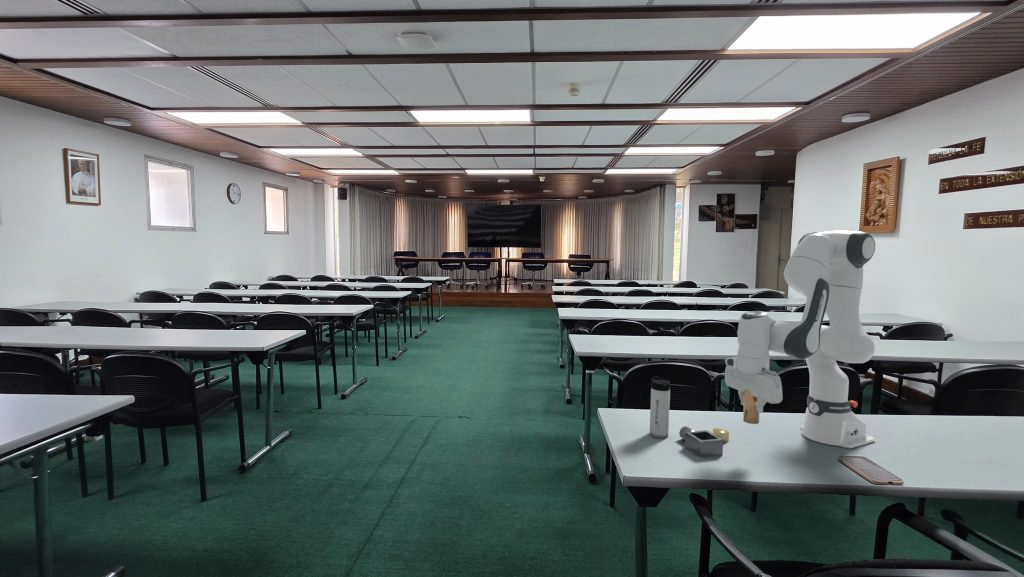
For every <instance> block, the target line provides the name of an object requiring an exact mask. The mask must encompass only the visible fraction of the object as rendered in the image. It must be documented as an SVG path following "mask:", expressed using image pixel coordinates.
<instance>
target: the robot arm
mask: <svg viewBox="0 0 1024 577" xmlns="http://www.w3.org/2000/svg"><path fill="white" fill-rule="evenodd" d="M875 252H876V241H875V238H874V237H873V236H872V234H871V233H868V232H865V231H860V230H855V231H850V230H833V231H829V230H828V231H821V232H820V231H819V232H818V231H812V232H808V233H806V234H804V235H803V236H802V237H801V238H800V239H799V240H798V242H797V246H796V247H795V248H794V250H793V251H792V253H791V255H790V257H789V259H788V261H787V263H786V265H785V268H784V271H783V278H784V280H785V283H786V284H787V286H789V287H790V288H791V289H793V290H794V291H796V292H797V293H799V294H801V295H803V296H804V297H806V300H805V301H806V302H805V305H804V306H805V307H804V309H803V313H802V317H801V320H799V322H796V323H791V322H785V321H780V320H776V319H774V318H771V317H769V314H768V313H767V312H766V311H761V310H754V311H752V310H751V311H746V312H745V313H744V312H743V314H741V315H740V318H739V321H738V326H737V343H738V349H737V353H736V356H734V357H727V358H725V361H724V362H725V366H726V367H725V370H724V383H725V384H726V386H728V387H730V388H731V389H735V390H737V392H738V396H739V399H740V405H742V406H743V407H744V389H745V390H747V391H750V394H751V395H752V396H754V397H756V398H757V401H758V402H759V403H758V405H755V411H757V412H759V413H763V412H764V406H765V405H766V404H767V403H769V404H772V405H773V404H775V405H776V404H780V403H782V401H783V385H782V380H781V377H780V376H779V374H778V373H777V371H774V370H771V369H770V357H771V356H770V353H769V351H770V352H774V353H778V354H782V355H786V356H789V357H792V358H795V359H798V360H805V362H806V365H807V368H808V373H809V389H808V390H809V392H808V393H809V394H808V395H807V398H806V405H807V407H806V410H805V414H804V420H803V424H802V425H801V427H800V428H801V432H800V433H801V434H802V436H804V437H805V438H807V439H808V440H811V441H814V442H817V443H821V444H824V445H830V446H836V447H837V446H838V447H841V448H846V449H853V448H858V447H860V446H865V445H868V444H870V443H874V442H875V438H874V437H873V436H871V435H869V434H868V433H867V425H866V423H865V421H864V420H863V419H861V418H860V417H859V416H858V415H856V414H855V413H854V412H853V411H852V408H851V407H853V408H857V407H858V401H855V400H852V399H851V400H849V399H848V397H849V385H850V384H849V383H850V381H849V377H848V375H847V373H845V372H844V371H843V370H842V369H841V368H840V367H839V365H838V363H837V361H838V362H843V363H849V364H864V363H866V362H869V361H870V360H871V358H872V357H873V355H874V353H875V348H876V347H875V343H874V340H873V338H872V337H871V336H870V335H869V334H868V333H867V332H866V331H865V329H864V327H863V325H862V323H861V320H860V312H859V311H860V303H861V302H860V301H861V295H862V289H863V282H864V266H865V264H867V263H868V262H869V261H870V260H872V257H873V256H874V254H875ZM825 315H826V316H827V317H828V318H827V319H828V320H829V325H823V323H824V319H825Z"/></svg>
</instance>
